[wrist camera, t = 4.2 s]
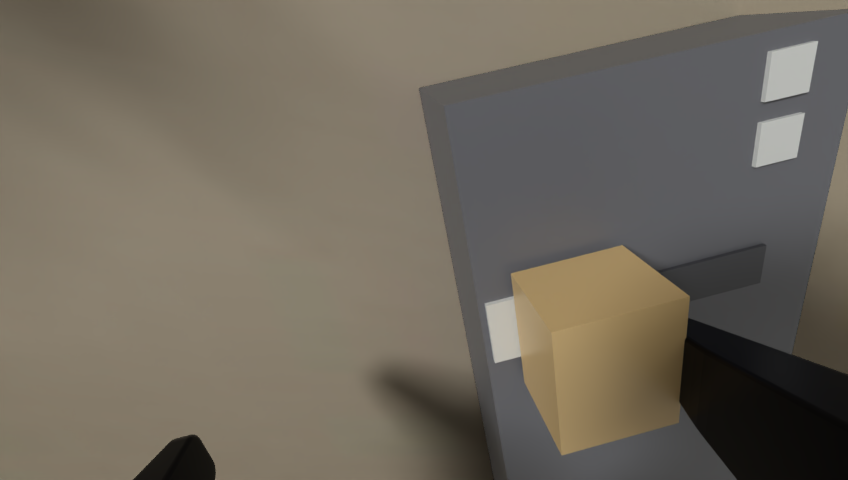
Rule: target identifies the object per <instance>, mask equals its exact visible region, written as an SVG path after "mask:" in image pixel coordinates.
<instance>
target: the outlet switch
mask: <svg viewBox="0 0 848 480" xmlns="http://www.w3.org/2000/svg"><path fill="white" fill-rule="evenodd" d="M511 280H512V287H513V295H514V303H515V311H516V319H517V327H518V335H519V343H520V351H521V359H522V367H523V375H524V383H525V385H526V386H527V388H528V390H529V392H530V394H531V396H532V398H533V400H534V402H535V404H536V406H537V408H538V410H539V412H540V414H541V416H542V418H543V420H544V422H545V424H546V426H547V428H548V430H549V432H550V434H551V436H552V438H553V440H554V442H555V444H556V446H557V447H558V449H559V451H560V453H561V455H566V454H569V453H573V452H576V451H580V450H584V449H587V448H591V447H594V446H598V445H602V444H605V443H609V442H612V441H616V440H619V439H623V438H627V437H630V436H634V435H637V434H641V433H645V432H648V431H652V430H655V429H659V428H662V427H666V426H670V425H673V424H677V423H679V415H680V403H679V397H680V386H681V375H682V364H683V353H684V341H685V339H686V335H687V324H688V313H689V301H690V296H689V295H688V294H686V293H685V292H684V291H682V290H681V289H680V288H678V287H677V286H676V285H674V284H673V283H672V282H670V281H669V280H668V279H666V278H665V277H664V276H662V275H661V274H660V273H659V272H657V271H656V270H655V269H653V268H652V267H651V266H649V265H648V264H647V263H645V262H644V261H643V260H641V259H640V258H639V257H637V256H636V255H635V254H633V253H632V252H631V251H630V250H628V249H627V248H626V247H624V246H623V245H621V246H617V247H613V248H609V249H605V250H601V251H597V252H593V253H589V254H585V255H581V256H577V257H573V258H570V259H566V260H562V261H558V262H554V263H550V264H546V265H542V266H538V267H534V268H530V269H526V270H522V271H518V272H514V273H511Z"/></svg>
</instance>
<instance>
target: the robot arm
mask: <svg viewBox="0 0 848 480" xmlns="http://www.w3.org/2000/svg"><path fill="white" fill-rule="evenodd" d="M679 403H680V404H681V406H682V407H683V409H684V410H685V412H686V414H687V415H688V417H689V418H690V420H691V421H692V422H693V424H694V425H695V427H696V428H697V430H698V431H699V432H700V434H701V435H702V436H703V437H704V439H705V440H706V441H707V443H708V444H709V445H710V446H711V448H712V449H713V450H714V451H715V453H716V454H717V455H718V456H719V458H720V459H721V460H722V462H723V463H724V464H725V465H726V467H727V468H728V469H729V470H730V472H731V473H732V474H733V475H734V477H735V478H736V479H737V480H848V374H845V373H842V372H839V371H836V370H834V369H831V368H828V367H825V366H822V365H820V364H817V363H814V362H811V361H808V360H806V359H803V358H800V357H797V356H794V355H792V354H789V353H786V352H783V351H780V350H778V349H775V348H772V347H769V346H766V345H764V344H761V343H758V342H755V341H752V340H750V339H747V338H744V337H741V336H738V335H736V334H733V333H730V332H727V331H724V330H722V329H719V328H716V327H713V326H710V325H708V324H705V323H702V322H699V321H696V320H693V319H691V318H688V324H687V335H686V339H685V341H684V353H683V364H682V375H681V386H680V397H679ZM215 473H216V472H215V465H214V462H213V460H212V458H211V456H210V455H209V453H208V451H207V450H206V448H205V446H204V445H203V443H202V441H201V440H200V438H199V437H198V436H196V435H188V436H184V437H180V438H176V439H174V440H172V441H171V442H170V443H168V444H167V445H166V446H165V448H164V449H163V450H162V451H161V452H160V453H159V454H158V455H157V456H156V457H155V458H154V459H153V460H152V461H151V462H150V463H149V464H148V465H147V466H146V467H145V468H144V469H143V470H142V471H141V472H140V473H139V474H138V475H137V476H136V477H135V478H134V479H133V480H215Z"/></svg>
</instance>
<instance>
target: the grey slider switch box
mask: <svg viewBox="0 0 848 480" xmlns="http://www.w3.org/2000/svg"><path fill="white" fill-rule="evenodd" d="M419 91H420V96H421V101H422V106H423V112H424V117H425V122H426V127H427V133H428V138H429V143H430V148H431V153H432V159H433V164H434V169H435V174H436V179H437V185H438V190H439V195H440V200H441V206H442V211H443V216H444V221H445V226H446V232H447V237H448V242H449V247H450V253H451V258H452V263H453V268H454V273H455V279H456V284H457V289H458V294H459V300H460V305H461V310H462V315H463V320H464V326H465V331H466V336H467V341H468V347H469V352H470V357H471V362H472V367H473V373H474V378H475V383H476V388H477V394H478V399H479V404H480V409H481V414H482V420H483V425H484V430H485V435H486V441H487V446H488V451H489V456H490V461H491V467H492V472H493V477H494V480H737V479H736V478H735V477H734V475H733V474H732V473H731V472H730V470H729V469H728V468H727V467H726V465H725V464H724V463H723V462H722V460H721V459H720V458H719V456H718V455H717V454H716V453H715V451H714V450H713V449H712V448H711V446H710V445H709V444H708V443H707V441H706V440H705V439H704V437H703V436H702V435H701V434H700V432H699V431H698V430H697V428H696V427H695V425H694V424H693V422H692V421H691V420H690V418H689V417H688V415H687V414H686V412H685V410H684V409H683V407H682V406H681V404H680V415H679V423H677V424H673V425H670V426H666V427H662V428H659V429H655V430H652V431H648V432H645V433H641V434H637V435H634V436H630V437H627V438H623V439H619V440H616V441H612V442H609V443H605V444H602V445H598V446H594V447H591V448H587V449H584V450H580V451H576V452H573V453H569V454H566V455H561V453H560V451H559V449H558V447H557V446H556V444H555V442H554V440H553V438H552V436H551V434H550V432H549V430H548V428H547V426H546V424H545V422H544V420H543V418H542V416H541V414H540V412H539V410H538V408H537V406H536V404H535V402H534V400H533V398H532V396H531V394H530V392H529V390H528V388H527V386H526V385H525V383H524V375H523V367H522V359H521V351H520V343H519V335H518V327H517V319H516V311H515V303H514V295H513V287H512V280H511V273H514V272H518V271H522V270H526V269H530V268H534V267H538V266H542V265H546V264H550V263H554V262H558V261H562V260H566V259H570V258H573V257H577V256H581V255H585V254H589V253H593V252H597V251H601V250H605V249H609V248H613V247H617V246H621V245H623V246H624V247H626V248H627V249H628V250H630V251H631V252H632V253H633V254H635V255H636V256H637V257H639V258H640V259H641V260H643V261H644V262H645V263H647V264H648V265H649V266H651V267H652V268H653V269H655V270H656V271H657V272H659V273H660V274H661V275H662V276H664V277H665V278H666V279H668V280H669V281H670V282H672V283H673V284H674V285H676V286H677V287H678V288H680V289H681V290H682V291H684V292H685V293H686V294H688V295H689V296H690V301H689V313H688V318H691V319H693V320H696V321H699V322H702V323H705V324H708V325H710V326H713V327H716V328H719V329H722V330H724V331H727V332H730V333H733V334H736V335H738V336H741V337H744V338H747V339H750V340H752V341H755V342H758V343H761V344H764V345H766V346H769V347H772V348H775V349H778V350H780V351H783V352H786V353H789V354H792V351H793V347H794V342H795V338H796V333H797V329H798V324H799V320H800V316H801V311H802V307H803V302H804V298H805V293H806V289H807V285H808V280H809V276H810V271H811V267H812V263H813V258H814V254H815V249H816V245H817V240H818V236H819V232H820V227H821V223H822V218H823V214H824V210H825V205H826V201H827V196H828V192H829V187H830V183H831V179H832V174H833V170H834V165H835V161H836V156H837V152H838V148H839V143H840V139H841V134H842V130H843V126H844V121H845V117H846V112H847V108H848V9H841V10H824V11H807V12H790V13H773V14H756V15H739V16H734V17H730V18H725V19H721V20H717V21H712V22H708V23H703V24H699V25H695V26H690V27H686V28H681V29H677V30H672V31H668V32H664V33H659V34H655V35H650V36H646V37H642V38H637V39H633V40H628V41H624V42H620V43H615V44H611V45H606V46H602V47H598V48H593V49H589V50H584V51H580V52H576V53H571V54H567V55H562V56H558V57H554V58H549V59H545V60H540V61H536V62H532V63H527V64H523V65H518V66H514V67H510V68H505V69H501V70H496V71H492V72H488V73H483V74H479V75H474V76H470V77H465V78H461V79H457V80H452V81H448V82H443V83H439V84H435V85H430V86H426V87H421V88H419Z"/></svg>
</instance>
